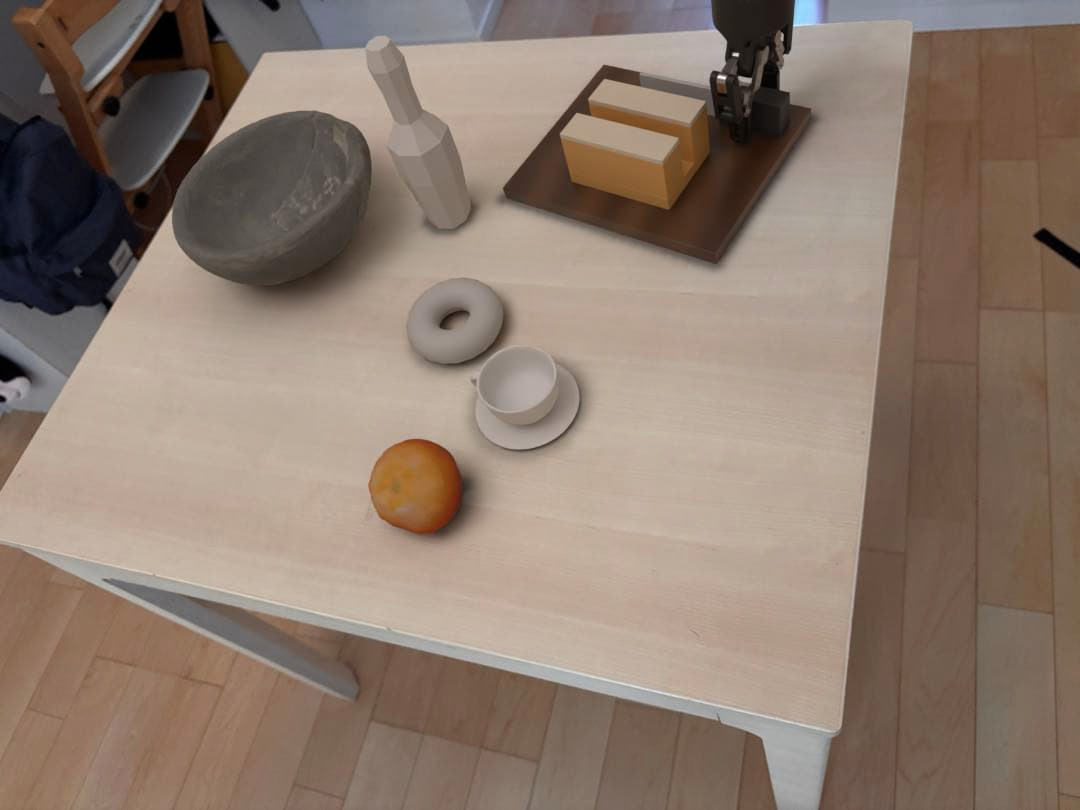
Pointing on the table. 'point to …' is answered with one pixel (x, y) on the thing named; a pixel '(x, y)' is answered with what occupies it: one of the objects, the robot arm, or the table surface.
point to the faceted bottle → (419, 141)
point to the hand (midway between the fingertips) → (755, 119)
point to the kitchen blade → (766, 106)
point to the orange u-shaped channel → (637, 142)
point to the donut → (464, 338)
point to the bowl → (274, 198)
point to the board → (701, 208)
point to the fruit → (416, 486)
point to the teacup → (524, 397)
